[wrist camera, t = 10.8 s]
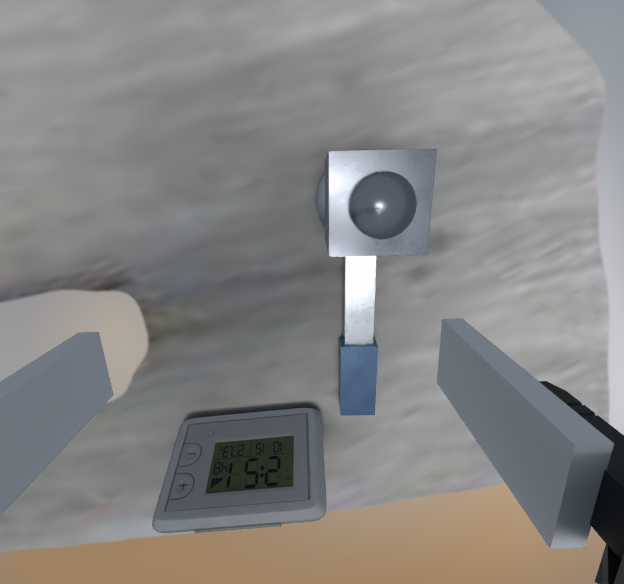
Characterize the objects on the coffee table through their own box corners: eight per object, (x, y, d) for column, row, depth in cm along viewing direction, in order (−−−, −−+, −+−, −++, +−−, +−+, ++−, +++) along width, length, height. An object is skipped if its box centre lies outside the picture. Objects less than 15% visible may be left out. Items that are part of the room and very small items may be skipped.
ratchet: (319, 401, 38) (320, 436, 33) (315, 153, 30) (316, 146, 25) (390, 400, 38) (403, 435, 33) (405, 151, 30) (424, 144, 25)
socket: (325, 239, 30) (329, 260, 21) (324, 160, 28) (329, 149, 19) (398, 237, 30) (432, 258, 21) (402, 159, 28) (442, 146, 19)
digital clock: (327, 402, 38) (331, 481, 28) (319, 466, 41) (321, 559, 31) (183, 391, 38) (134, 467, 28) (185, 456, 40) (141, 546, 30)
